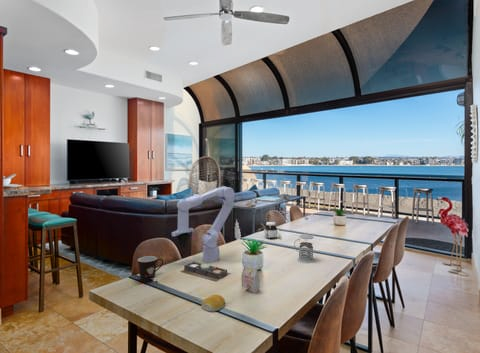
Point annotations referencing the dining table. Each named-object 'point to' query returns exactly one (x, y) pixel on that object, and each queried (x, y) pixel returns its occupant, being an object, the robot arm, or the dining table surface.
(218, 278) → the button panel
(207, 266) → the sage button
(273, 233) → the spread jar
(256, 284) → the tea bag
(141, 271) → the coffee mug
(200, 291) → the dining table surface
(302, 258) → the french press
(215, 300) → the bread roll
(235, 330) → the dining table surface
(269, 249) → the dining table surface
